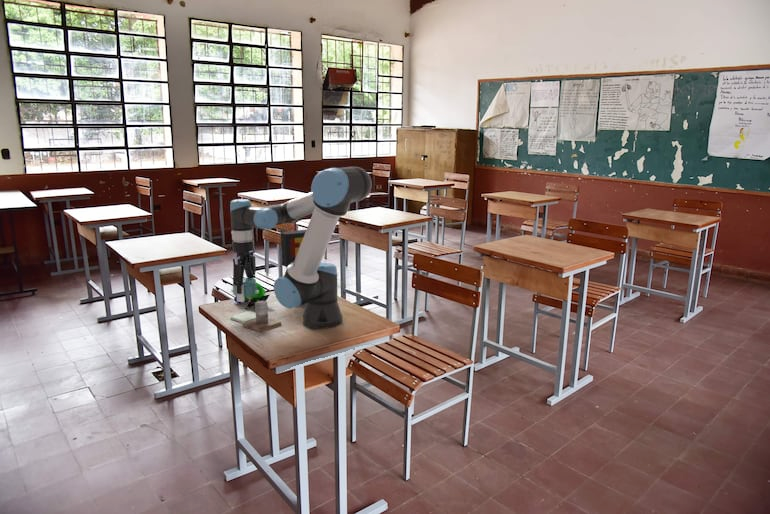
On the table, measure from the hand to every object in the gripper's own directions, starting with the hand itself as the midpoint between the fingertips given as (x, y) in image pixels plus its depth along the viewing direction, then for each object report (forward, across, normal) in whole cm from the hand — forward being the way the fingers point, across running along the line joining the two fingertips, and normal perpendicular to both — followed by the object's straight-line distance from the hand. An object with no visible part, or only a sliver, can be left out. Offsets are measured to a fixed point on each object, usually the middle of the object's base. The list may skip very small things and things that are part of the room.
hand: (245, 297), depth 209 cm
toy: (+9, -16, -5) cm, 19 cm away
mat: (+8, 0, 0) cm, 8 cm away
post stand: (+8, +7, +9) cm, 14 cm away
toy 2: (+9, -26, +14) cm, 31 cm away
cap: (-2, 0, 0) cm, 2 cm away
